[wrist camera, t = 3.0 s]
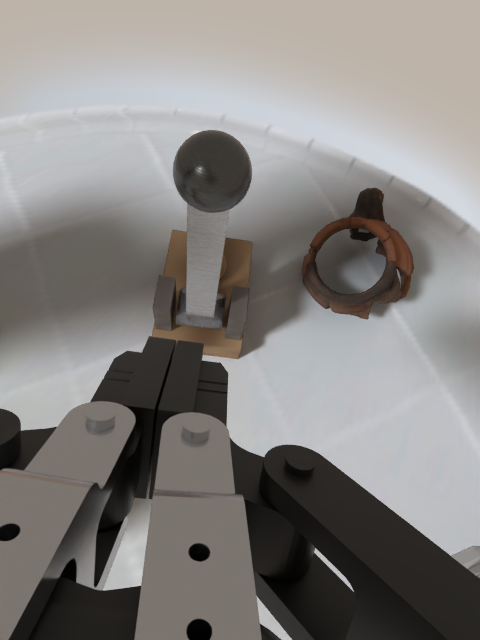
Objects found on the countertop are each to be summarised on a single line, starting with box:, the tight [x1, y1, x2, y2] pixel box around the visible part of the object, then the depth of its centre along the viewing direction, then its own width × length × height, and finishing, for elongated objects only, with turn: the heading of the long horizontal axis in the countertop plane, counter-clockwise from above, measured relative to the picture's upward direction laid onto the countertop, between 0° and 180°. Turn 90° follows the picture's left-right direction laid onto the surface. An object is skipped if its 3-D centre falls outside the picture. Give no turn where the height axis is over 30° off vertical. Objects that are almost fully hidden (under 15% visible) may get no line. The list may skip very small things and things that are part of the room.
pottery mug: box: [302, 188, 414, 319], centre depth 41 cm, size 12×10×8 cm
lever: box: [173, 130, 252, 330], centre depth 28 cm, size 4×4×18 cm
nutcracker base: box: [152, 230, 252, 359], centre depth 37 cm, size 7×10×6 cm
